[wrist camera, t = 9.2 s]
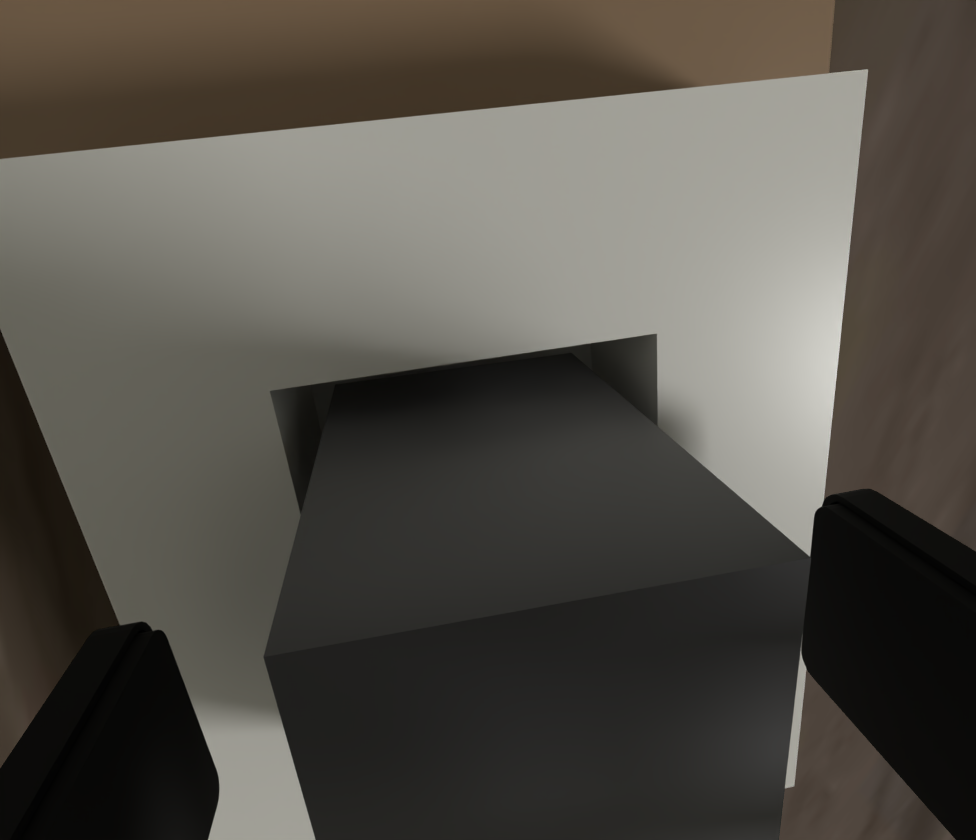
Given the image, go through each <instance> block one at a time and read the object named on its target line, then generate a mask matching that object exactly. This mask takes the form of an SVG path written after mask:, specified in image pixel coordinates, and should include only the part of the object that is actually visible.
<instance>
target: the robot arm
mask: <svg viewBox="0 0 976 840" xmlns="http://www.w3.org/2000/svg"><path fill="white" fill-rule="evenodd" d="M810 557H811V564H810V573H809V581H808V590H807V599H806V607H805V616H804V625H803V635H802V645H801V654H802V658H803V661H804V664H805V666H806V668H807V670H808V672H809V673H810V675H811V676H812V677H813V678H814V679H815V681H816V682H817V683H818V684H819V685H820V686H821V687H822V688H823V690H824V691H825V692H826V693H827V694H828V695H829V696H830V698H831V699H832V700H833V701H834V702H835V703H836V704H837V705H838V707H839V708H840V709H841V710H842V711H843V712H844V713H845V715H846V716H847V717H848V718H849V719H850V720H851V721H852V722H853V724H854V725H855V726H856V727H857V728H858V729H859V730H860V732H861V733H862V734H863V735H864V736H865V737H866V738H867V739H868V741H869V742H870V743H871V744H872V745H873V746H874V747H875V749H876V750H877V751H878V752H879V753H880V754H881V755H882V756H883V758H884V759H885V760H886V761H887V762H888V763H889V764H890V766H891V767H892V768H893V769H894V770H895V771H896V772H897V773H898V775H899V776H900V777H901V778H902V779H903V780H904V781H905V783H906V784H907V785H908V786H909V787H910V788H911V789H912V790H913V792H914V793H915V794H916V795H917V796H918V797H919V798H920V799H921V801H922V802H923V803H924V804H925V805H926V806H927V807H928V809H929V810H930V811H931V812H932V813H933V814H934V815H935V816H936V818H937V819H938V820H939V821H940V822H941V823H942V824H943V826H944V827H945V828H946V829H947V830H948V831H949V832H950V833H951V835H952V836H953V837H954V838H955V839H956V840H976V552H975V551H974V550H972V549H970V548H969V547H967V546H966V545H964V544H962V543H961V542H959V541H957V540H956V539H954V538H952V537H951V536H949V535H947V534H946V533H944V532H942V531H941V530H939V529H937V528H936V527H934V526H933V525H931V524H929V523H928V522H926V521H924V520H923V519H921V518H919V517H918V516H916V515H914V514H913V513H911V512H909V511H908V510H906V509H905V508H903V507H901V506H900V505H898V504H896V503H895V502H893V501H891V500H890V499H888V498H886V497H885V496H883V495H881V494H880V493H878V492H876V491H874V490H872V489H860V490H855V491H849V492H844V493H839V494H833V495H830V496H828V497H826V499H825V500H824V502H823V504H822V507H820V508H818V509H817V510H816V512H815V515H814V522H813V533H812V543H811V553H810ZM218 800H219V777H218V773H217V770H216V767H215V764H214V762H213V759H212V756H211V754H210V751H209V748H208V746H207V743H206V740H205V737H204V735H203V732H202V729H201V727H200V724H199V721H198V719H197V716H196V713H195V711H194V708H193V705H192V703H191V700H190V697H189V695H188V692H187V689H186V687H185V684H184V681H183V679H182V676H181V673H180V670H179V668H178V665H177V662H176V660H175V657H174V654H173V652H172V649H171V646H170V644H169V641H168V638H167V636H166V634H165V633H164V632H163V631H162V630H154V631H153V630H152V629H151V627H150V626H149V625H148V624H147V623H146V622H142V621H141V622H135V623H130V624H125V625H119V626H114V627H108V628H103V629H98V630H96V631H94V632H93V633H92V634H91V635H90V636H89V637H88V638H87V640H86V641H85V643H84V644H83V646H82V647H81V649H80V650H79V652H78V653H77V655H76V656H75V658H74V659H73V661H72V662H71V664H70V665H69V667H68V668H67V670H66V671H65V673H64V674H63V676H62V677H61V679H60V680H59V682H58V683H57V685H56V686H55V688H54V689H53V691H52V692H51V694H50V695H49V697H48V698H47V700H46V701H45V703H44V704H43V706H42V707H41V709H40V710H39V712H38V713H37V715H36V716H35V718H34V719H33V721H32V722H31V724H30V725H29V727H28V728H27V730H26V731H25V733H24V734H23V736H22V737H21V739H20V740H19V742H18V743H17V744H16V746H15V747H14V749H13V750H12V752H11V753H10V755H9V756H8V758H7V759H6V761H5V762H4V764H3V765H2V767H1V768H0V840H208V838H209V834H210V831H211V827H212V823H213V820H214V816H215V812H216V809H217V805H218Z"/></svg>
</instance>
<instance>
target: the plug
mask: <svg viewBox="0 0 976 840" xmlns="http://www.w3.org/2000/svg"><path fill="white" fill-rule="evenodd" d="M810 564H811V557H810V556H808V555H807V554H806V553H805V552H804V551H803V550H801V549H800V548H799V547H798V546H797V545H796V544H794V543H793V542H792V541H791V540H790V539H789V538H787V537H786V536H785V535H784V534H783V533H782V532H780V531H779V530H778V529H777V528H776V527H775V526H773V525H772V524H771V523H770V522H769V521H768V520H766V519H765V518H764V517H763V516H762V515H761V514H759V513H758V512H757V511H756V510H755V509H754V508H752V507H751V506H750V505H749V504H748V503H746V502H745V501H744V500H743V499H742V498H741V497H739V496H738V495H737V494H736V493H735V492H734V491H732V490H731V489H730V488H729V487H728V486H727V485H725V484H724V483H723V482H722V481H721V480H720V479H718V478H717V477H716V476H715V475H714V474H713V473H711V472H710V471H709V470H708V469H707V468H706V467H704V466H703V465H702V464H701V463H700V462H699V461H697V460H696V459H695V458H694V457H693V456H692V455H690V454H689V453H688V452H687V451H686V450H685V449H683V448H682V447H681V446H680V445H679V444H678V443H676V442H675V441H674V440H673V439H672V438H671V437H669V436H668V435H667V434H666V433H665V432H664V431H662V430H661V429H660V428H659V427H658V426H656V425H655V424H654V423H653V422H652V421H651V420H649V419H648V418H647V417H646V416H645V415H644V414H642V413H641V412H640V411H639V410H638V409H637V408H635V407H634V406H633V405H632V404H631V403H630V402H628V401H627V400H626V399H625V398H624V397H623V396H621V395H620V394H619V393H618V392H617V391H616V390H614V389H613V388H612V387H611V386H610V385H609V384H607V383H606V382H605V381H604V380H603V379H602V378H600V377H599V376H598V375H597V374H596V373H595V372H593V371H592V370H591V369H590V368H589V367H588V366H586V365H585V364H584V363H583V362H582V361H581V360H579V359H578V358H577V357H576V356H575V355H574V354H572V353H566V354H558V355H551V356H543V357H536V358H528V359H521V360H513V361H506V362H498V363H491V364H483V365H476V366H468V367H461V368H454V369H446V370H439V371H431V372H424V373H416V374H409V375H401V376H394V377H386V378H379V379H371V380H364V381H356V382H349V383H341V384H335V387H334V391H333V395H332V398H331V402H330V406H329V410H328V414H327V417H326V421H325V425H324V429H323V433H322V436H321V440H320V444H319V448H318V452H317V455H316V459H315V463H314V467H313V471H312V474H311V478H310V482H309V486H308V490H307V493H306V497H305V501H304V505H303V509H302V512H301V516H300V520H299V524H298V528H297V531H296V535H295V539H294V543H293V547H292V550H291V554H290V558H289V562H288V565H287V569H286V573H285V577H284V581H283V584H282V588H281V592H280V596H279V600H278V603H277V607H276V611H275V615H274V619H273V622H272V626H271V630H270V634H269V638H268V641H267V645H266V649H265V653H264V657H263V658H264V661H265V665H266V668H267V672H268V675H269V679H270V682H271V686H272V689H273V693H274V696H275V700H276V703H277V707H278V710H279V714H280V717H281V721H282V724H283V728H284V731H285V735H286V738H287V742H288V745H289V749H290V752H291V756H292V759H293V763H294V766H295V770H296V773H297V777H298V780H299V784H300V787H301V791H302V794H303V798H304V801H305V805H306V808H307V812H308V815H309V819H310V822H311V826H312V829H313V833H314V836H315V840H779V834H780V825H781V816H782V808H783V799H784V790H785V782H786V773H787V764H788V755H789V747H790V738H791V729H792V721H793V712H794V703H795V695H796V686H797V677H798V668H799V660H800V651H801V642H802V634H803V625H804V616H805V607H806V599H807V590H808V581H809V573H810Z"/></svg>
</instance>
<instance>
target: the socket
mask: <svg viewBox="0 0 976 840" xmlns="http://www.w3.org/2000/svg"><path fill="white" fill-rule="evenodd" d="M834 7H835V0H0V330H1V332H2V335H3V337H4V340H5V342H6V345H7V347H8V350H9V352H10V355H11V357H12V360H13V362H14V364H15V367H16V369H17V372H18V374H19V377H20V379H21V382H22V384H23V387H24V389H25V392H26V394H27V397H28V399H29V402H30V404H31V407H32V409H33V411H34V414H35V416H36V419H37V421H38V424H39V426H40V429H41V431H42V434H43V436H44V439H45V441H46V444H47V446H48V449H49V451H50V454H51V456H52V458H53V461H54V463H55V466H56V468H57V471H58V473H59V476H60V478H61V481H62V483H63V486H64V488H65V491H66V493H67V496H68V498H69V500H70V503H71V505H72V508H73V510H74V513H75V515H76V518H77V520H78V523H79V525H80V528H81V530H82V533H83V535H84V538H85V540H86V543H87V545H88V547H89V550H90V552H91V555H92V557H93V560H94V562H95V565H96V567H97V570H98V572H99V575H100V577H101V580H102V582H103V585H104V587H105V590H106V592H107V594H108V597H109V599H110V602H111V604H112V607H113V609H114V612H115V614H116V617H117V619H118V622H119V624H120V625H125V624H130V623H135V622H141V621H142V622H146V623H147V624H148V625H149V626H150V627H151V629H152V630H153V631H154V630H162V631H163V632H164V633H165V634H166V636H167V638H168V641H169V644H170V646H171V649H172V652H173V654H174V657H175V660H176V662H177V665H178V668H179V670H180V673H181V676H182V679H183V681H184V684H185V687H186V689H187V692H188V695H189V697H190V700H191V703H192V705H193V708H194V711H195V713H196V716H197V719H198V721H199V724H200V727H201V729H202V732H203V735H204V737H205V740H206V743H207V746H208V748H209V751H210V754H211V756H212V759H213V762H214V764H215V767H216V770H217V773H218V777H219V800H218V805H217V809H216V812H215V816H214V820H213V823H212V827H211V831H210V834H209V838H208V840H315V836H314V833H313V829H312V826H311V822H310V819H309V815H308V812H307V808H306V805H305V801H304V798H303V794H302V791H301V787H300V784H299V780H298V777H297V773H296V770H295V766H294V763H293V759H292V756H291V752H290V749H289V745H288V742H287V738H286V735H285V731H284V728H283V724H282V721H281V717H280V714H279V710H278V707H277V703H276V700H275V696H274V693H273V689H272V686H271V682H270V679H269V675H268V672H267V668H266V665H265V661H264V658H263V657H264V653H265V649H266V645H267V641H268V638H269V634H270V630H271V626H272V622H273V619H274V615H275V611H276V607H277V603H278V600H279V596H280V592H281V588H282V584H283V581H284V577H285V573H286V569H287V565H288V562H289V558H290V554H291V550H292V547H293V543H294V539H295V535H296V531H297V528H298V524H299V520H300V516H301V512H302V509H303V505H304V501H305V497H306V493H307V490H308V486H309V482H310V478H311V474H312V471H313V467H314V463H315V459H316V455H317V452H318V448H319V444H320V440H321V436H322V433H323V429H324V425H325V421H326V417H327V414H328V410H329V406H330V402H331V398H332V395H333V391H334V387H335V384H341V383H349V382H356V381H364V380H371V379H379V378H386V377H394V376H401V375H409V374H416V373H424V372H431V371H439V370H446V369H454V368H461V367H468V366H476V365H483V364H491V363H498V362H506V361H513V360H521V359H528V358H536V357H543V356H551V355H558V354H566V353H572V354H574V355H575V356H576V357H577V358H578V359H579V360H581V361H582V362H583V363H584V364H585V365H586V366H588V367H589V368H590V369H591V370H592V371H593V372H595V373H596V374H597V375H598V376H599V377H600V378H602V379H603V380H604V381H605V382H606V383H607V384H609V385H610V386H611V387H612V388H613V389H614V390H616V391H617V392H618V393H619V394H620V395H621V396H623V397H624V398H625V399H626V400H627V401H628V402H630V403H631V404H632V405H633V406H634V407H635V408H637V409H638V410H639V411H640V412H641V413H642V414H644V415H645V416H646V417H647V418H648V419H649V420H651V421H652V422H653V423H654V424H655V425H656V426H658V427H659V428H660V429H661V430H662V431H664V432H665V433H666V434H667V435H668V436H669V437H671V438H672V439H673V440H674V441H675V442H676V443H678V444H679V445H680V446H681V447H682V448H683V449H685V450H686V451H687V452H688V453H689V454H690V455H692V456H693V457H694V458H695V459H696V460H697V461H699V462H700V463H701V464H702V465H703V466H704V467H706V468H707V469H708V470H709V471H710V472H711V473H713V474H714V475H715V476H716V477H717V478H718V479H720V480H721V481H722V482H723V483H724V484H725V485H727V486H728V487H729V488H730V489H731V490H732V491H734V492H735V493H736V494H737V495H738V496H739V497H741V498H742V499H743V500H744V501H745V502H746V503H748V504H749V505H750V506H751V507H752V508H754V509H755V510H756V511H757V512H758V513H759V514H761V515H762V516H763V517H764V518H765V519H766V520H768V521H769V522H770V523H771V524H772V525H773V526H775V527H776V528H777V529H778V530H779V531H780V532H782V533H783V534H784V535H785V536H786V537H787V538H789V539H790V540H791V541H792V542H793V543H794V544H796V545H797V546H798V547H799V548H800V549H801V550H803V551H804V552H805V553H806V554H807V555H808V556H810V553H811V543H812V533H813V522H814V515H815V512H816V510H817V509H818V508H820V507H822V504H823V502H824V492H825V482H826V473H827V463H828V453H829V444H830V434H831V424H832V414H833V405H834V395H835V385H836V376H837V366H838V356H839V347H840V337H841V327H842V317H843V308H844V298H845V288H846V279H847V269H848V259H849V250H850V240H851V230H852V220H853V211H854V201H855V191H856V182H857V172H858V162H859V153H860V143H861V133H862V123H863V114H864V104H865V94H866V85H867V75H868V69H866V70H857V71H847V72H837V73H829V67H830V55H831V43H832V31H833V19H834ZM802 635H803V634H802ZM801 645H802V642H801ZM805 676H806V666H805V664H804V661H803V658H802V654H801V651H800V660H799V668H798V677H797V686H796V695H795V703H794V712H793V721H792V729H791V738H790V747H789V755H788V764H787V773H786V782H785V788H788V787H792V786H794V783H795V773H796V764H797V754H798V744H799V734H800V725H801V715H802V705H803V696H804V686H805Z"/></svg>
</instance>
